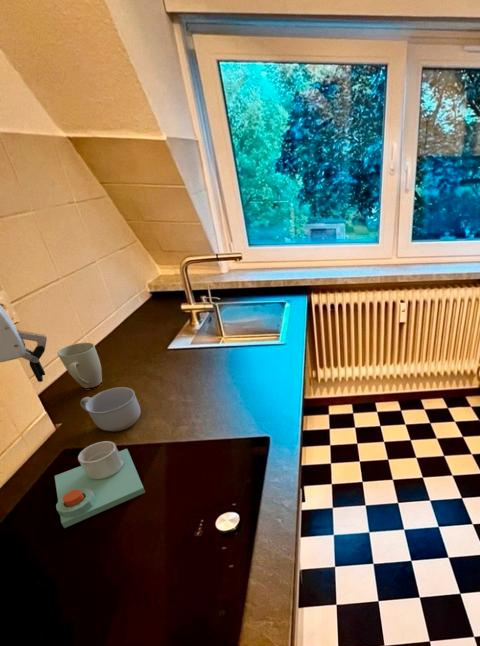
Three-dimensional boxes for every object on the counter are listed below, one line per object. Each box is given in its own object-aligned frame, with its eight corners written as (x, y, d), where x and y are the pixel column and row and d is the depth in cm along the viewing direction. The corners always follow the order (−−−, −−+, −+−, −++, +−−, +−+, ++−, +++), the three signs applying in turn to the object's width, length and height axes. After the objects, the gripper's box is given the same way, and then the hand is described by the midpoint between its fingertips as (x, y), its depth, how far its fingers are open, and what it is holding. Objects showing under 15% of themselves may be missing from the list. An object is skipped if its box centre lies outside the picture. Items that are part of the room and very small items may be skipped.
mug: (66, 389, 115) (47, 353, 108) (99, 375, 122) (84, 340, 115) (85, 399, 110) (67, 361, 103) (119, 383, 117) (104, 347, 110)
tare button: (67, 509, 72) (63, 504, 71) (65, 500, 74) (61, 494, 73) (85, 502, 73) (82, 496, 72) (83, 492, 75) (80, 487, 74)
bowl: (90, 485, 78) (80, 467, 76) (85, 468, 83) (76, 450, 80) (127, 471, 82) (118, 453, 79) (120, 454, 86) (112, 437, 84)
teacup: (154, 416, 101) (143, 390, 97) (120, 441, 93) (107, 414, 88) (113, 407, 105) (102, 382, 101) (77, 431, 97) (63, 404, 92)
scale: (64, 528, 71) (57, 517, 70) (57, 480, 82) (50, 470, 80) (145, 492, 78) (140, 482, 77) (129, 453, 89) (124, 442, 87)
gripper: (-117, 316, 59) (-53, 409, 68) (24, 295, 67) (64, 380, 76) (-106, 303, 64) (-47, 392, 73) (24, 286, 72) (62, 367, 82)
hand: (10, 386), depth 75 cm, fingers open, 9 cm apart
